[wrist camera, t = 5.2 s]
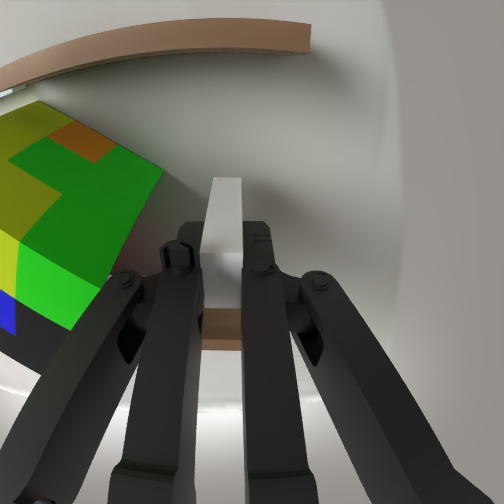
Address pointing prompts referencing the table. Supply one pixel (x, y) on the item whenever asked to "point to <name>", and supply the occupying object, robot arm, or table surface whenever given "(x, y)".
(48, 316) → the puzzle toy
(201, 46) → the channel
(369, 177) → the table surface
